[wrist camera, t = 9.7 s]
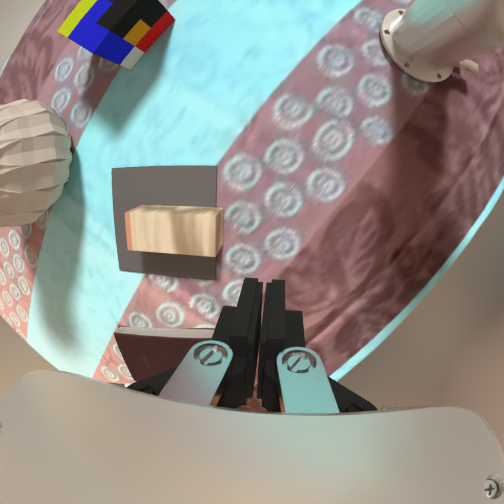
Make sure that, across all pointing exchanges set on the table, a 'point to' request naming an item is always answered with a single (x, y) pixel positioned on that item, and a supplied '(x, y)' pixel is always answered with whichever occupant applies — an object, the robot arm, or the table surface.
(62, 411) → the robot arm
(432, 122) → the table surface
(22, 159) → the vase
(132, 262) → the mat
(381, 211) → the table surface
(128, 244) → the tall block
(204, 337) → the book
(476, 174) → the table surface
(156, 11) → the puzzle toy
